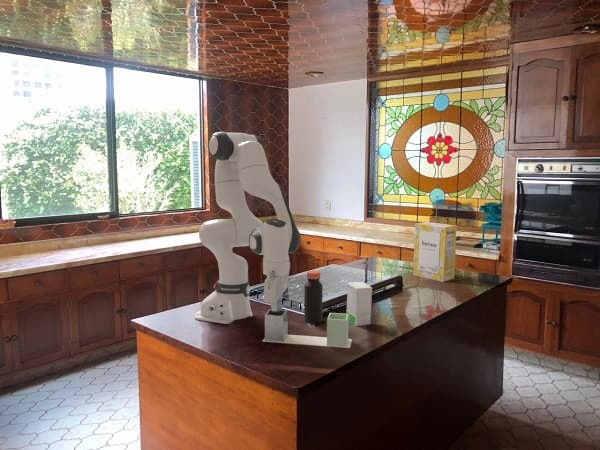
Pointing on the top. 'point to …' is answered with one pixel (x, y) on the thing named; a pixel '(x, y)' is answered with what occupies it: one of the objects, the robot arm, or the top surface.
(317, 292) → the bottle
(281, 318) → the tube grey
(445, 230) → the pasta box
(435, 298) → the top surface
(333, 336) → the tube sage
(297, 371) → the top surface
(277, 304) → the ball slate
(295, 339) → the board
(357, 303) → the skincare box
